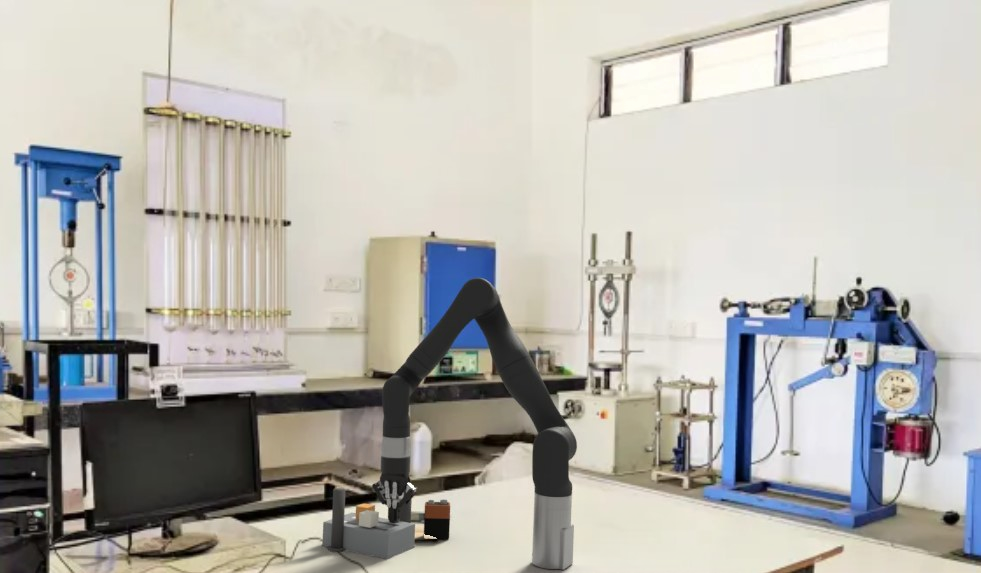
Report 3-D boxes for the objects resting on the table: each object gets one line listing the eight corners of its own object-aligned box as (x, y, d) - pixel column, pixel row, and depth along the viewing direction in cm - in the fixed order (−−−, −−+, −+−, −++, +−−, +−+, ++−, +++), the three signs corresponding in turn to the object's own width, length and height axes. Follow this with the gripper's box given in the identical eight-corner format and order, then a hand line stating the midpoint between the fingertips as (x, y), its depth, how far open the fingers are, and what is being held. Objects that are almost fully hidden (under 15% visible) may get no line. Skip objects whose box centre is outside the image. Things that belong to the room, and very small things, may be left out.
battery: (449, 540, 222) (450, 502, 222) (423, 539, 222) (424, 501, 222) (448, 535, 226) (450, 498, 227) (423, 535, 226) (425, 498, 226)
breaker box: (414, 547, 214) (415, 523, 214) (387, 559, 204) (388, 533, 204) (351, 535, 223) (352, 512, 224) (322, 545, 213) (323, 521, 213)
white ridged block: (378, 524, 211) (378, 512, 211) (370, 527, 208) (370, 514, 208) (366, 522, 212) (367, 509, 212) (358, 525, 209) (359, 512, 209)
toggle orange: (374, 517, 217) (375, 505, 218) (366, 520, 214) (367, 507, 214) (363, 515, 219) (364, 503, 219) (355, 518, 216) (356, 506, 216)
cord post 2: (415, 540, 220) (418, 483, 220) (406, 544, 216) (409, 486, 217) (401, 538, 222) (404, 481, 223) (392, 542, 218) (394, 484, 219)
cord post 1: (349, 548, 211) (351, 489, 211) (338, 553, 207) (341, 492, 207) (335, 545, 213) (337, 486, 213) (324, 550, 209) (326, 489, 209)
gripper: (425, 454, 214) (423, 522, 213) (382, 449, 220) (380, 515, 219) (409, 458, 207) (407, 529, 206) (365, 453, 213) (363, 521, 212)
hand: (393, 522), depth 213 cm, fingers closed
